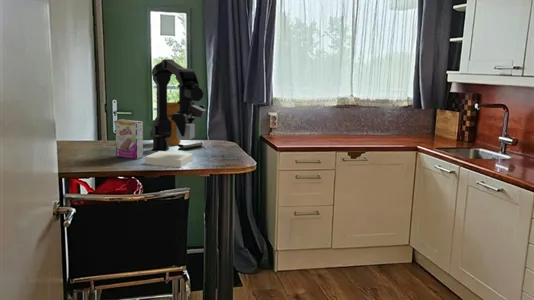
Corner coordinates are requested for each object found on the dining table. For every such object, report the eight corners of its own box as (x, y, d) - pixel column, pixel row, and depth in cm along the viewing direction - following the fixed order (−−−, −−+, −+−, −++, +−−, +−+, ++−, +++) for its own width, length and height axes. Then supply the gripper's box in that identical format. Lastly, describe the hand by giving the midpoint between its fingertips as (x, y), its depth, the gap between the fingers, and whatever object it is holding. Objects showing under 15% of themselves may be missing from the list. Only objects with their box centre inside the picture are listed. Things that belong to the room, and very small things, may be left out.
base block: (145, 163, 196) (145, 156, 196) (159, 157, 210) (159, 150, 209) (180, 167, 193) (180, 160, 192) (193, 160, 206) (193, 153, 206)
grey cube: (176, 138, 201) (176, 124, 200) (181, 136, 207) (181, 122, 206) (189, 139, 200) (189, 125, 199) (194, 137, 206) (194, 123, 205)
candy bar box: (115, 157, 207) (114, 120, 203) (122, 155, 211) (121, 119, 208) (137, 159, 203) (136, 122, 200) (143, 157, 208) (143, 121, 205)
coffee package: (158, 141, 247) (158, 100, 243) (181, 142, 247) (182, 101, 243) (154, 145, 237) (154, 101, 233) (179, 146, 238) (179, 102, 234)
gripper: (196, 101, 190) (195, 139, 193) (210, 98, 208) (209, 133, 211) (170, 100, 192) (170, 137, 195) (186, 97, 210) (186, 131, 213)
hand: (185, 134), depth 203 cm, fingers closed on grey cube, 6 cm apart
